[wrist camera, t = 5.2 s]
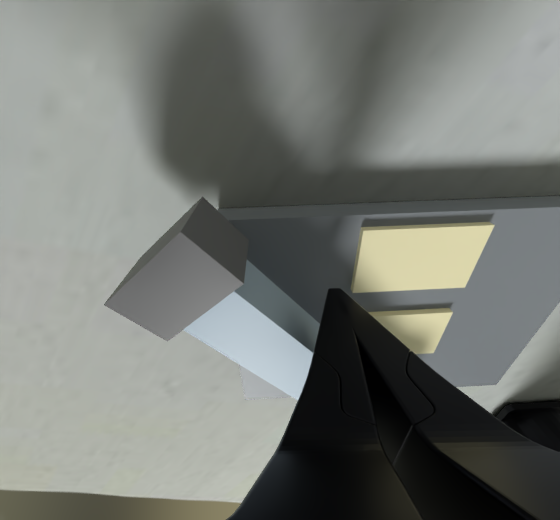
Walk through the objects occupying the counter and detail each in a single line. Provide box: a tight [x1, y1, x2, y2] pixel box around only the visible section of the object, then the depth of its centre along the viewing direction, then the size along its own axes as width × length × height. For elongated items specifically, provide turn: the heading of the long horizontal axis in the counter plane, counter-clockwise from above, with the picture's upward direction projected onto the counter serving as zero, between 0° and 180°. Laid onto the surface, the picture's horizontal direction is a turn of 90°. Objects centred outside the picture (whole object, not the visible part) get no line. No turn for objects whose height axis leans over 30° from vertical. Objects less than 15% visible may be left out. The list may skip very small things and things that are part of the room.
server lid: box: [218, 196, 560, 400], centre depth 13 cm, size 16×13×2 cm
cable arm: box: [104, 197, 320, 400], centre depth 11 cm, size 16×3×2 cm, turn 40°
